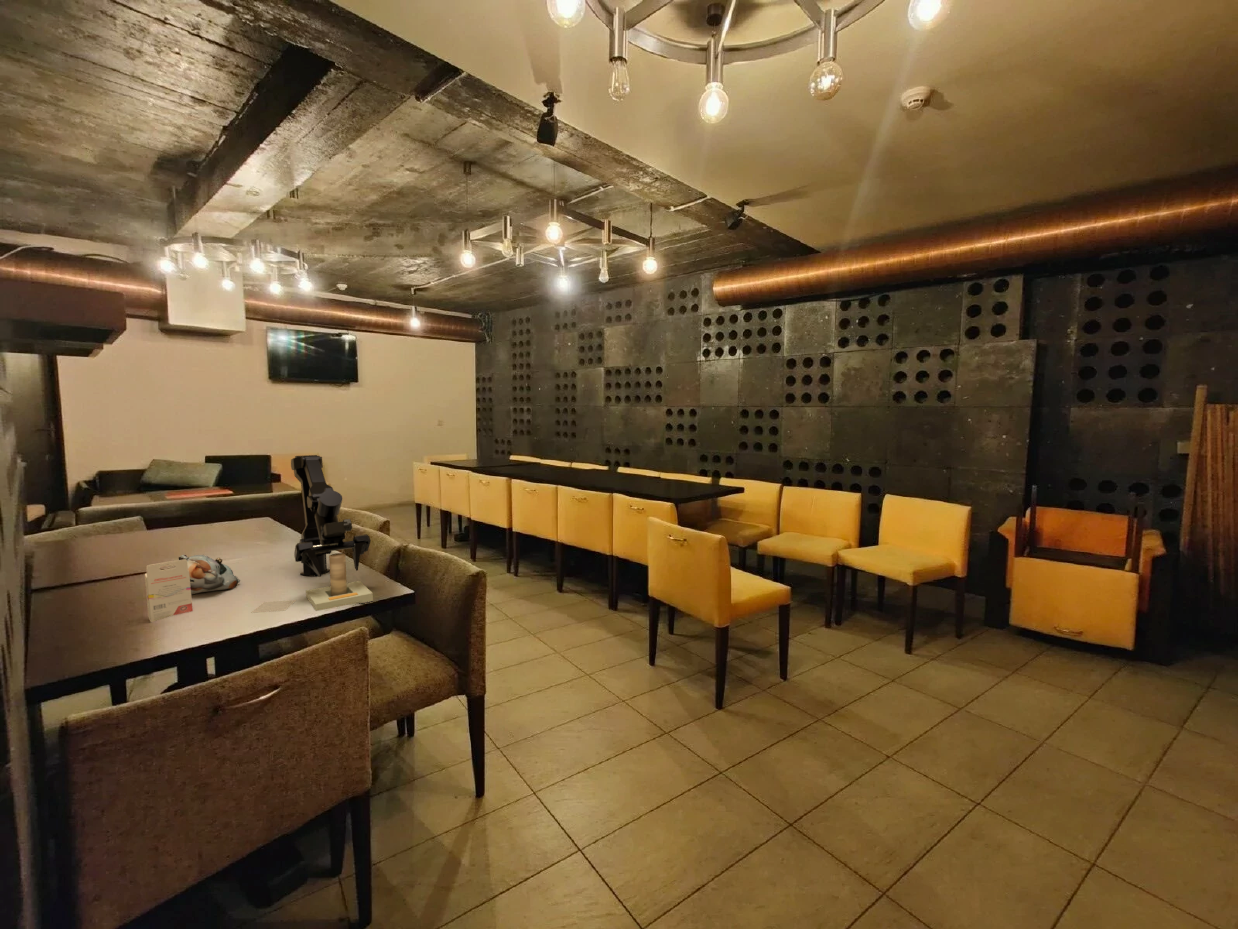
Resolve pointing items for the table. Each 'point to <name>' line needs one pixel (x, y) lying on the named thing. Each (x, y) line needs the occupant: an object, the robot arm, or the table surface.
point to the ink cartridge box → (168, 590)
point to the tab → (274, 606)
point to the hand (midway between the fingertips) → (339, 573)
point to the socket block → (338, 596)
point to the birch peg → (338, 574)
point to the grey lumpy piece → (209, 574)
